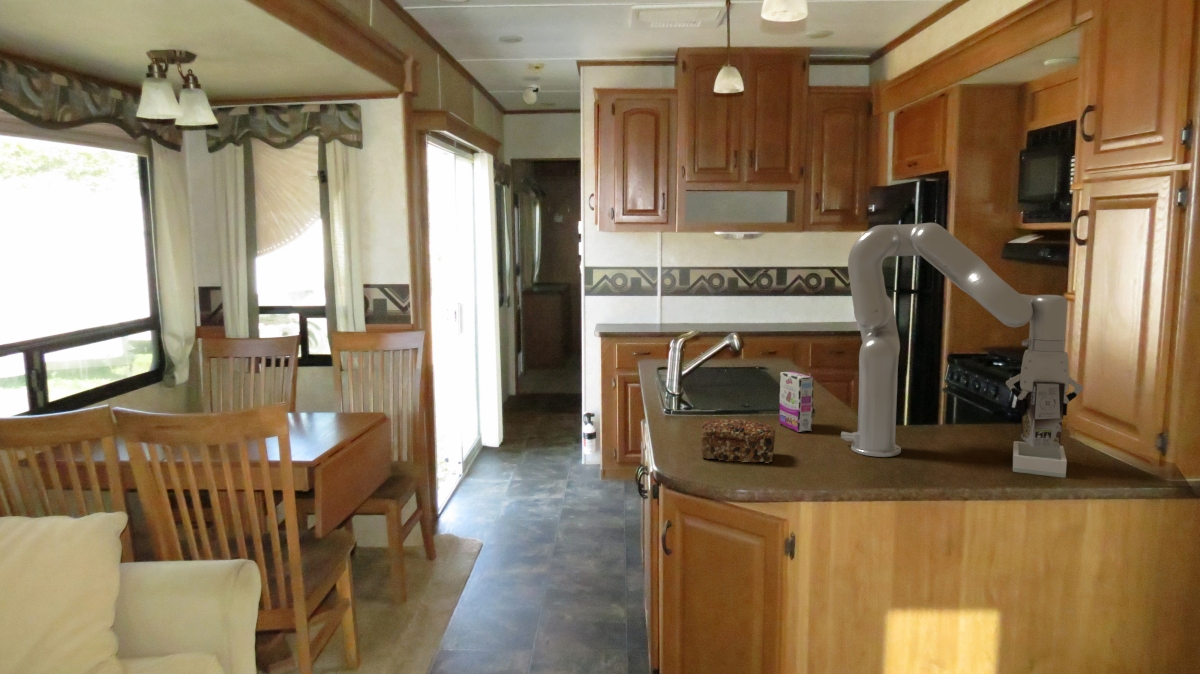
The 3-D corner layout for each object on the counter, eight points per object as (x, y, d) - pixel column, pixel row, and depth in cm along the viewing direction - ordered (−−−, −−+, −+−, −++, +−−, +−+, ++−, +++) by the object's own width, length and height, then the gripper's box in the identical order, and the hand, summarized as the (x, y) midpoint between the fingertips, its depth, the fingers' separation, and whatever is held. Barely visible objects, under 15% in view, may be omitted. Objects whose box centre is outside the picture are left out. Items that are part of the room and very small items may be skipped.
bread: (700, 460, 199) (700, 423, 197) (706, 449, 209) (706, 413, 207) (773, 465, 194) (773, 427, 192) (775, 453, 204) (776, 417, 202)
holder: (1012, 471, 186) (1013, 455, 185) (1012, 455, 198) (1013, 441, 197) (1065, 477, 180) (1066, 461, 180) (1062, 461, 193) (1063, 446, 192)
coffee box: (1061, 449, 183) (1066, 383, 181) (1032, 448, 184) (1036, 383, 182) (1047, 438, 192) (1051, 376, 190) (1019, 437, 193) (1023, 375, 191)
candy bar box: (813, 431, 224) (814, 377, 221) (798, 433, 222) (799, 378, 220) (792, 422, 234) (793, 370, 232) (778, 424, 233) (779, 371, 230)
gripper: (1005, 346, 186) (1001, 416, 188) (1090, 350, 177) (1084, 423, 180) (1005, 341, 192) (1001, 409, 195) (1087, 345, 184) (1082, 416, 186)
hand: (1041, 416), depth 187 cm, fingers closed on coffee box, 7 cm apart
